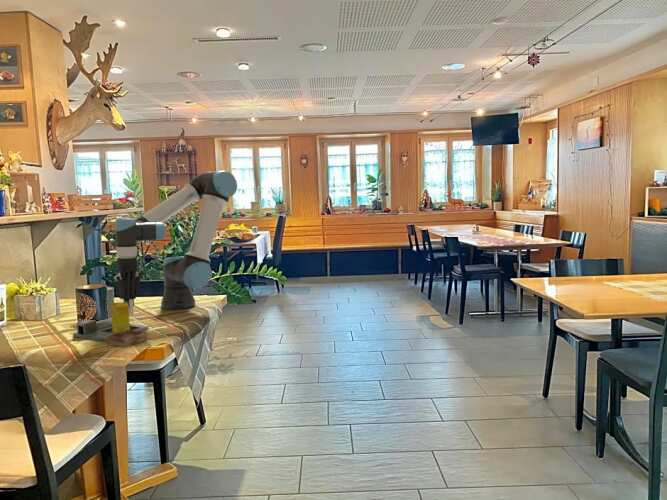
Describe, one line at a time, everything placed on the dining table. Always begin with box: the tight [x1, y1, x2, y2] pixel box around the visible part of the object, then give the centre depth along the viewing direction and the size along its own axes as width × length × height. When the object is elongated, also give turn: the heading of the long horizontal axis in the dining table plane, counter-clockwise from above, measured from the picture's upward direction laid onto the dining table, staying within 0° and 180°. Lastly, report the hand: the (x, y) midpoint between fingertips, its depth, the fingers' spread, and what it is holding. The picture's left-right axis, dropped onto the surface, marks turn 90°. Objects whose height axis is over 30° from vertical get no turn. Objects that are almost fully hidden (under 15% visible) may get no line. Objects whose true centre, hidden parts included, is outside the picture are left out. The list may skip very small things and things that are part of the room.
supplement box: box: [111, 301, 131, 333], centre depth 185 cm, size 6×6×11 cm
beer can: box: [106, 286, 115, 318], centre depth 208 cm, size 10×10×12 cm
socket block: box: [72, 319, 149, 342], centre depth 184 cm, size 18×18×5 cm
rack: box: [104, 329, 148, 348], centre depth 173 cm, size 10×10×3 cm
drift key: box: [96, 318, 112, 328], centre depth 189 cm, size 14×3×3 cm, turn 156°
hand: (129, 315), depth 200 cm, fingers closed
